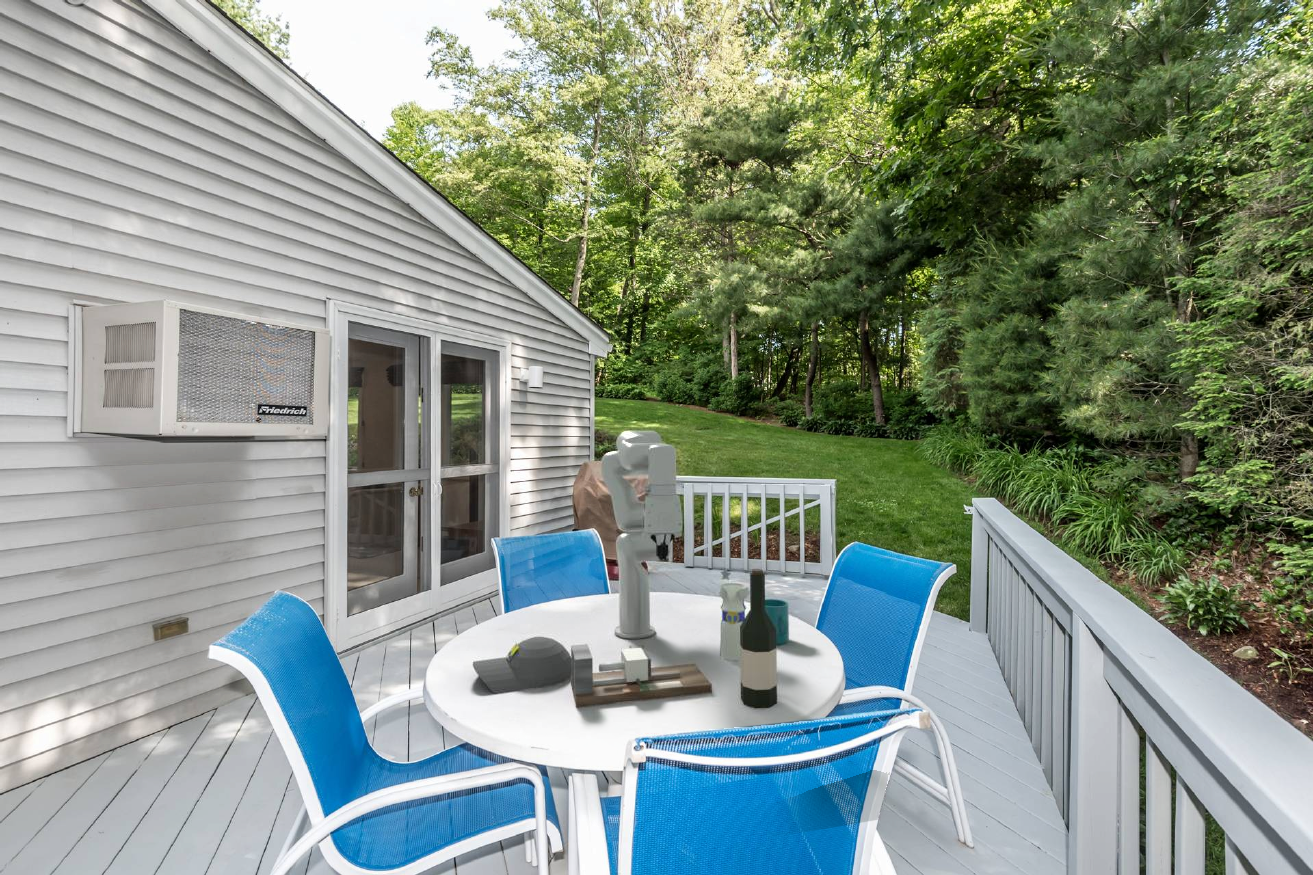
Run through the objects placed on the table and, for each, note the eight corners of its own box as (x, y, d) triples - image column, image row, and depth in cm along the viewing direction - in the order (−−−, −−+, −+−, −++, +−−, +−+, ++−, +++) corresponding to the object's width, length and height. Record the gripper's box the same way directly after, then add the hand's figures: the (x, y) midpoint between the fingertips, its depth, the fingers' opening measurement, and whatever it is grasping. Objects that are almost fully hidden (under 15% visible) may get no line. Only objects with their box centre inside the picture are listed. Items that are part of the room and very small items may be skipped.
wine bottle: (779, 695, 141) (778, 567, 141) (774, 711, 133) (772, 574, 134) (744, 691, 144) (742, 565, 144) (737, 706, 136) (735, 572, 136)
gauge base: (570, 683, 150) (570, 642, 150) (694, 671, 157) (694, 632, 157) (576, 707, 136) (575, 662, 136) (711, 692, 143) (711, 650, 143)
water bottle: (749, 662, 163) (748, 569, 163) (717, 660, 165) (716, 568, 165) (750, 651, 171) (750, 563, 171) (720, 649, 173) (719, 562, 173)
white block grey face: (597, 671, 148) (597, 651, 148) (645, 667, 151) (644, 647, 151) (603, 688, 138) (602, 666, 138) (654, 683, 141) (654, 661, 141)
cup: (773, 650, 172) (773, 610, 172) (752, 637, 183) (752, 600, 184) (800, 646, 175) (800, 607, 175) (778, 634, 187) (778, 597, 187)
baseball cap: (467, 664, 159) (479, 618, 160) (561, 675, 168) (572, 632, 169) (471, 691, 142) (485, 640, 143) (577, 703, 150) (588, 654, 152)
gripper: (637, 493, 156) (637, 563, 157) (693, 491, 160) (693, 560, 160) (632, 490, 164) (632, 557, 164) (685, 488, 167) (685, 554, 168)
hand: (662, 558), depth 162 cm, fingers closed
